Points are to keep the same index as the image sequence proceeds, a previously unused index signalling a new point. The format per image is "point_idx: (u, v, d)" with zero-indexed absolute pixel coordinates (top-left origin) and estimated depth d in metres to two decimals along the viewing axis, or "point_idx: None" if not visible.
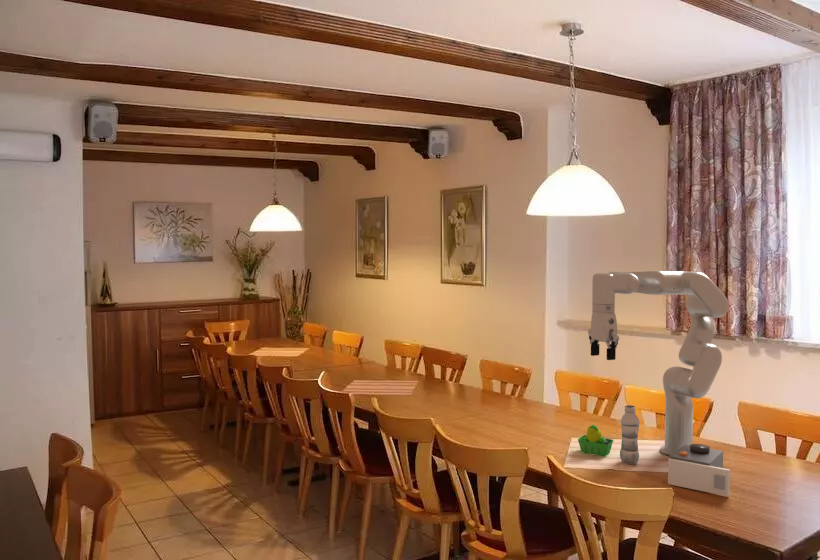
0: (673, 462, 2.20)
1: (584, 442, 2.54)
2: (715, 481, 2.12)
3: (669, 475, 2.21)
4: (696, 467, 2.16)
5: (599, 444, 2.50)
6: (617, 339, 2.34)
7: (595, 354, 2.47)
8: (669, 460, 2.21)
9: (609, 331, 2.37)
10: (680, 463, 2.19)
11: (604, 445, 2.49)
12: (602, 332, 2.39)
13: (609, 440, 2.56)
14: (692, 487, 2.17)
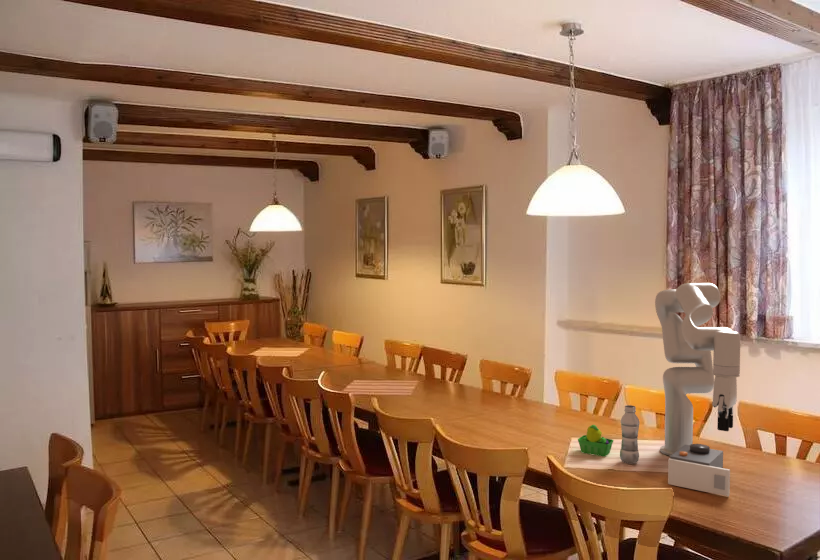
0: (673, 462, 2.20)
1: (584, 442, 2.54)
2: (715, 481, 2.12)
3: (669, 475, 2.21)
4: (696, 467, 2.16)
5: (599, 444, 2.50)
6: None
7: None
8: (669, 460, 2.21)
9: None
10: (680, 463, 2.19)
11: (604, 445, 2.49)
12: (736, 394, 2.17)
13: (609, 440, 2.56)
14: (692, 487, 2.17)
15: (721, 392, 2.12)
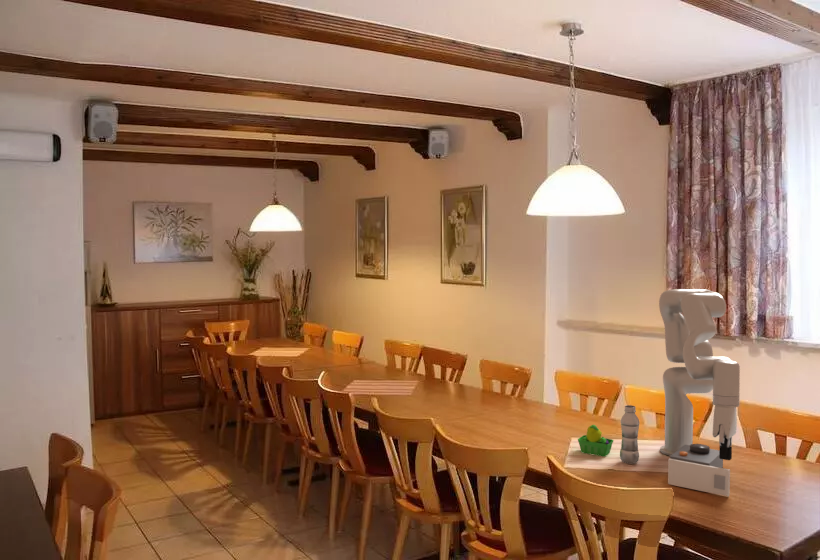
0: (673, 462, 2.20)
1: (584, 442, 2.54)
2: (715, 481, 2.12)
3: (669, 475, 2.21)
4: (696, 467, 2.16)
5: (599, 444, 2.50)
6: None
7: None
8: (669, 460, 2.21)
9: None
10: (680, 463, 2.19)
11: (604, 445, 2.49)
12: (736, 424, 2.17)
13: (609, 440, 2.56)
14: (692, 487, 2.17)
15: (721, 422, 2.12)
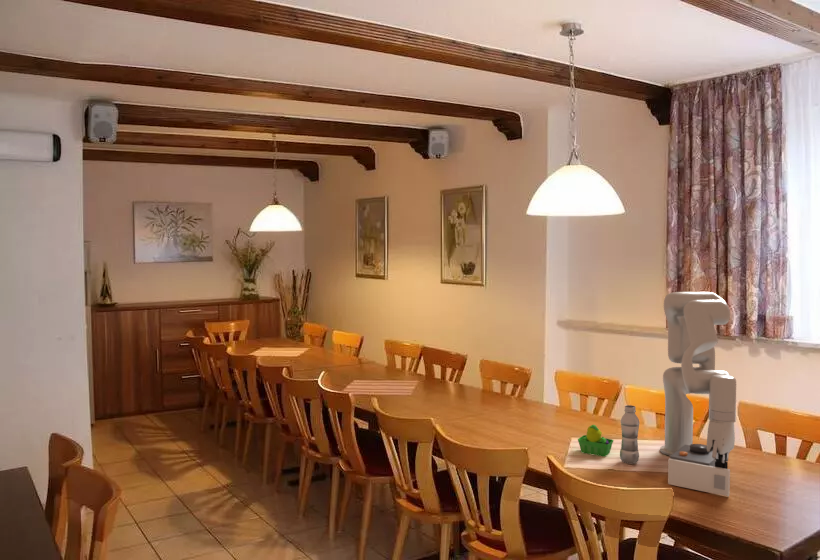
0: (673, 462, 2.20)
1: (584, 442, 2.54)
2: (715, 481, 2.12)
3: (669, 475, 2.21)
4: (695, 467, 2.16)
5: (599, 444, 2.50)
6: None
7: None
8: (669, 460, 2.21)
9: None
10: (680, 463, 2.19)
11: (604, 445, 2.49)
12: (733, 440, 2.14)
13: (609, 440, 2.56)
14: (692, 487, 2.17)
15: (714, 437, 2.10)
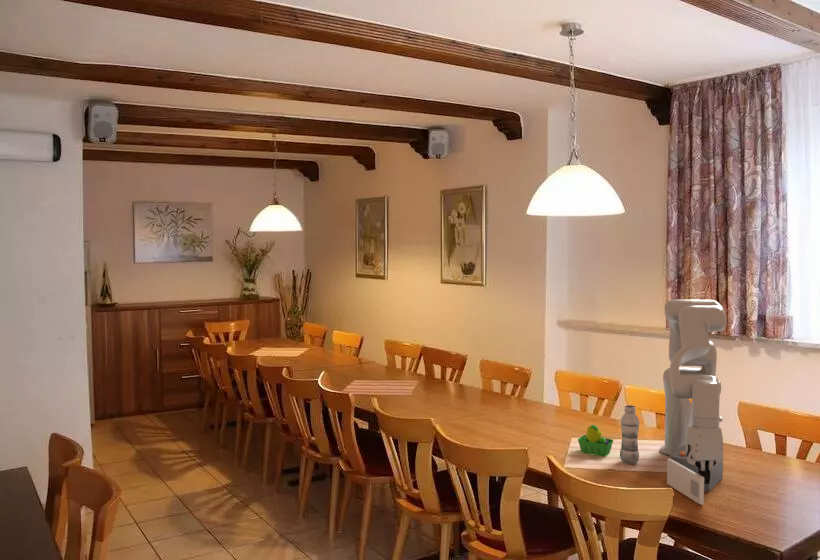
0: (669, 462, 2.20)
1: (584, 442, 2.54)
2: (691, 486, 2.07)
3: (667, 475, 2.21)
4: (682, 470, 2.13)
5: (599, 444, 2.50)
6: None
7: None
8: (667, 460, 2.21)
9: None
10: (673, 464, 2.18)
11: (604, 445, 2.49)
12: (718, 449, 2.05)
13: (609, 440, 2.56)
14: (680, 490, 2.14)
15: (689, 442, 2.06)
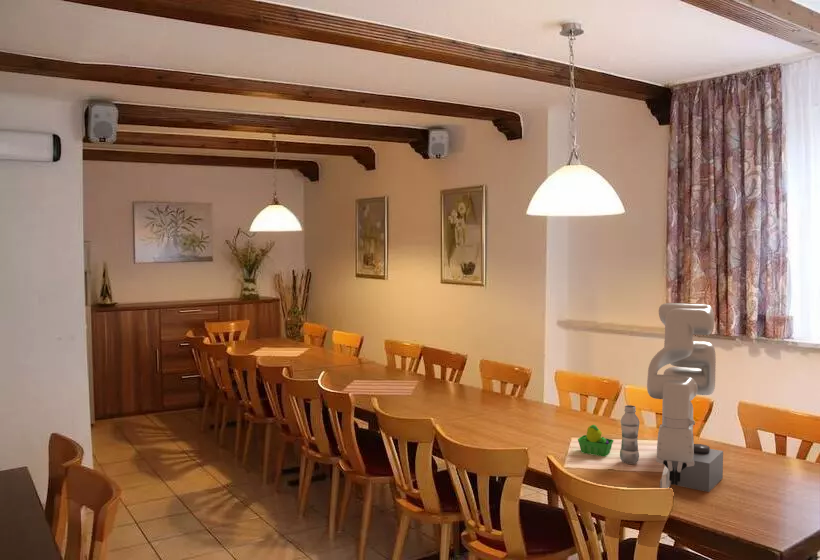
0: None
1: (584, 442, 2.54)
2: None
3: None
4: None
5: (599, 444, 2.50)
6: None
7: (674, 482, 2.07)
8: None
9: (693, 449, 2.04)
10: None
11: (604, 445, 2.49)
12: (686, 451, 2.03)
13: (609, 440, 2.56)
14: None
15: None
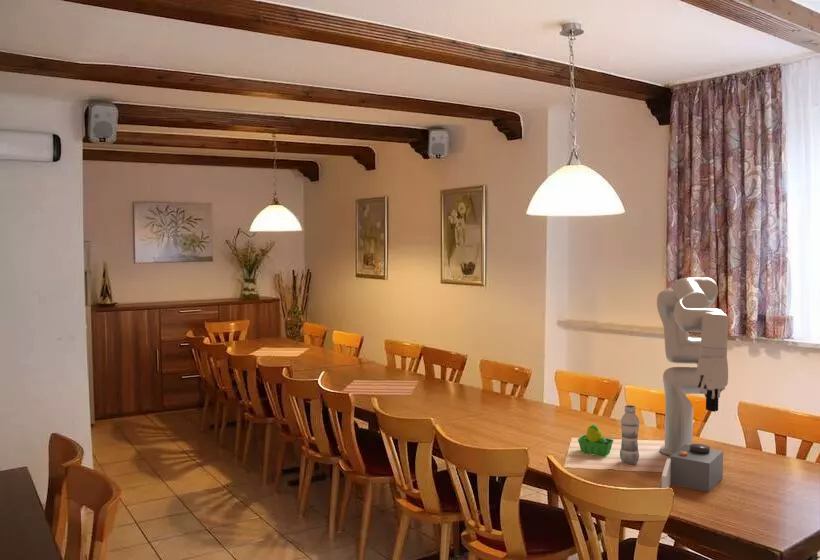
0: None
1: (584, 442, 2.54)
2: None
3: None
4: None
5: (599, 444, 2.50)
6: None
7: None
8: None
9: None
10: None
11: (604, 445, 2.49)
12: (725, 377, 2.15)
13: (609, 440, 2.56)
14: None
15: (702, 373, 2.13)
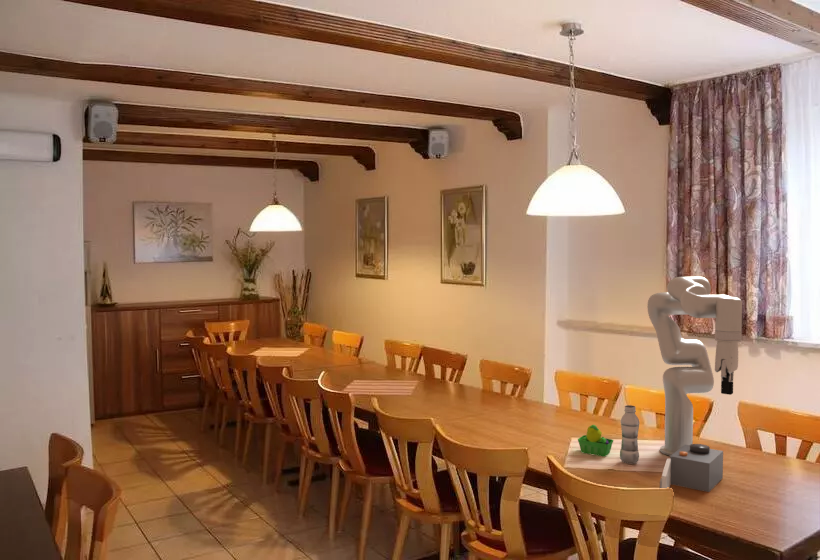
0: None
1: (584, 442, 2.54)
2: None
3: None
4: None
5: (599, 444, 2.50)
6: None
7: None
8: None
9: None
10: None
11: (604, 445, 2.49)
12: (737, 360, 2.21)
13: (609, 440, 2.56)
14: None
15: (723, 357, 2.16)
